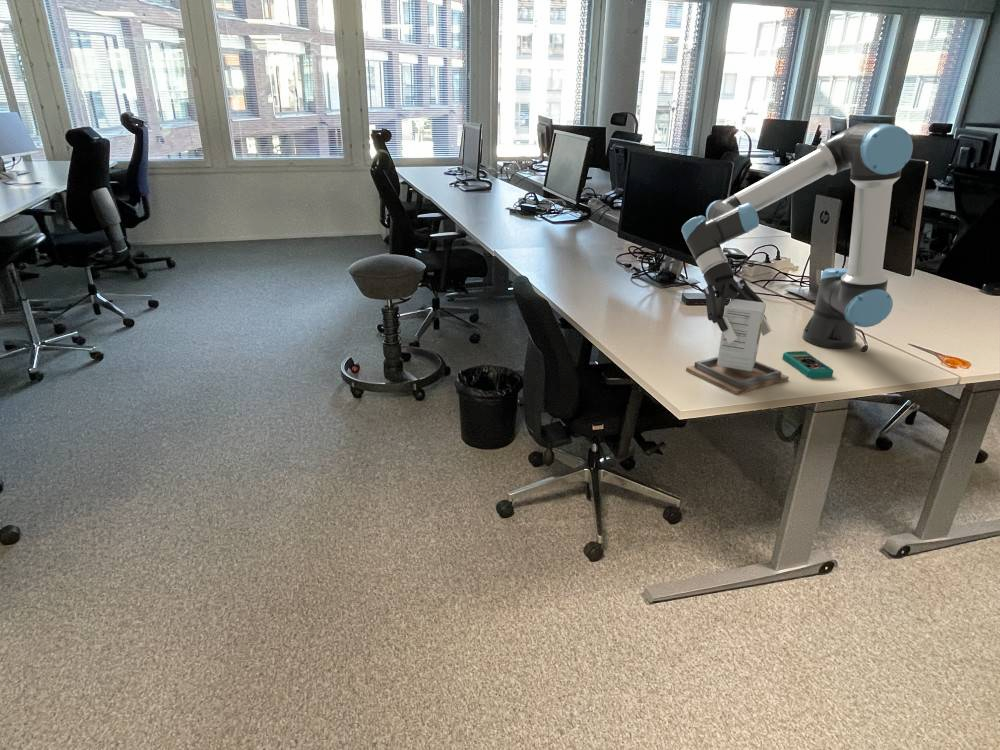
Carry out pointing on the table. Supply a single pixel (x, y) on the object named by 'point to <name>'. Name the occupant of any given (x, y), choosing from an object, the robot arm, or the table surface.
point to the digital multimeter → (807, 364)
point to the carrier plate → (736, 376)
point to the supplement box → (742, 334)
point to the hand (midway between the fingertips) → (750, 337)
